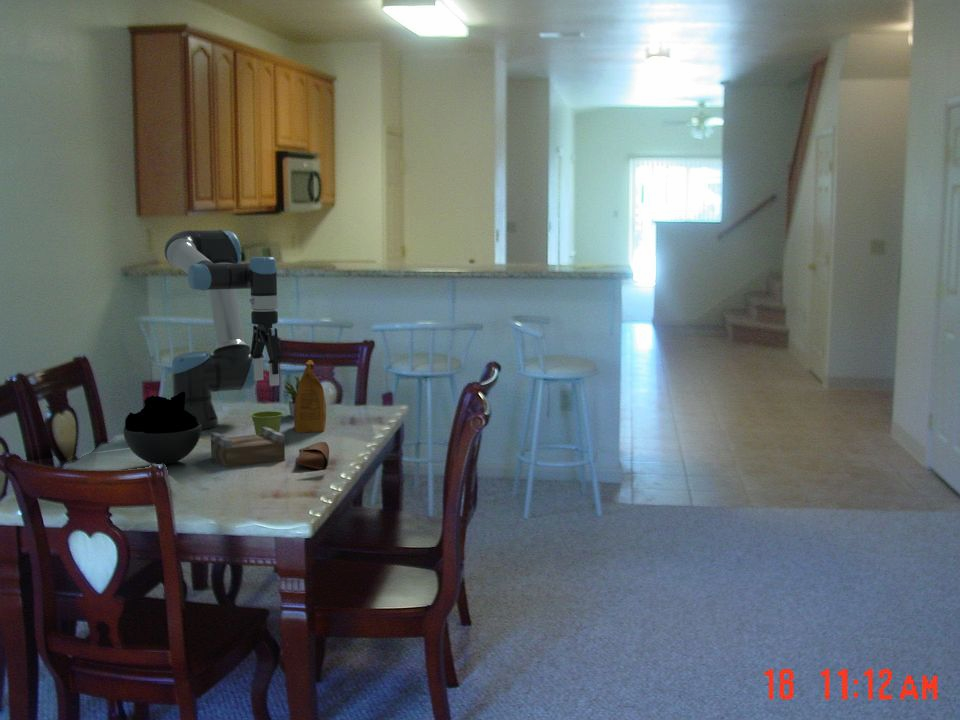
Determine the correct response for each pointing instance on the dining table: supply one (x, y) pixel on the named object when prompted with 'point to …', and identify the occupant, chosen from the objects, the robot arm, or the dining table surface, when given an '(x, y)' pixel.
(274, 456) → the raised riser
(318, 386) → the brown tall tapered bottle
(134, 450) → the coal bowl
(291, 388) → the house plant
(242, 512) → the dining table surface
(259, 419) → the plant pot
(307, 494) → the dining table surface
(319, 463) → the sunglasses case
